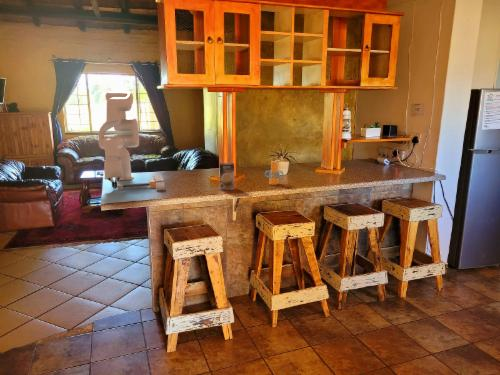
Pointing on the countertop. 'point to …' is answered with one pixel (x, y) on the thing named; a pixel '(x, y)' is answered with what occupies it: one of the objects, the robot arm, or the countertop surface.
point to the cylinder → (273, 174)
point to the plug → (150, 184)
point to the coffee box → (226, 176)
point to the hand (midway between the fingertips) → (114, 188)
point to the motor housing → (159, 182)
